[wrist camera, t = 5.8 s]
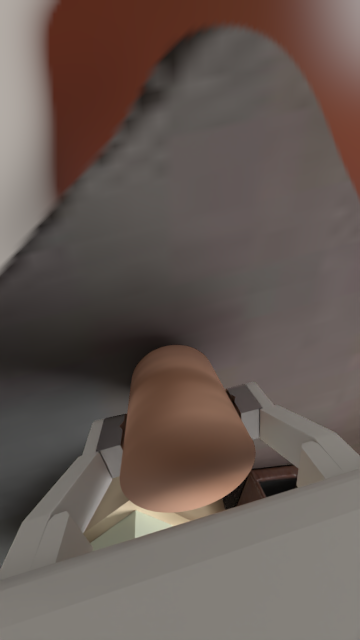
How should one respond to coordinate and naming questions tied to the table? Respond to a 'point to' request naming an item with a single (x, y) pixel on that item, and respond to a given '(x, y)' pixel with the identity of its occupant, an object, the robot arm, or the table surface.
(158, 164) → the table surface
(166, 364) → the tan rounded cylinder
